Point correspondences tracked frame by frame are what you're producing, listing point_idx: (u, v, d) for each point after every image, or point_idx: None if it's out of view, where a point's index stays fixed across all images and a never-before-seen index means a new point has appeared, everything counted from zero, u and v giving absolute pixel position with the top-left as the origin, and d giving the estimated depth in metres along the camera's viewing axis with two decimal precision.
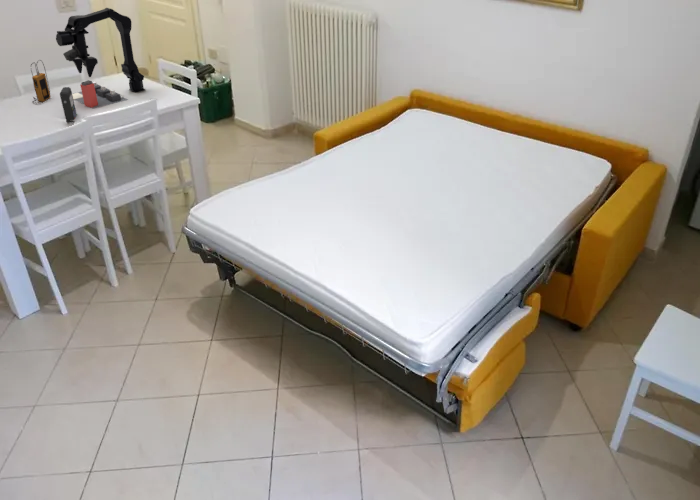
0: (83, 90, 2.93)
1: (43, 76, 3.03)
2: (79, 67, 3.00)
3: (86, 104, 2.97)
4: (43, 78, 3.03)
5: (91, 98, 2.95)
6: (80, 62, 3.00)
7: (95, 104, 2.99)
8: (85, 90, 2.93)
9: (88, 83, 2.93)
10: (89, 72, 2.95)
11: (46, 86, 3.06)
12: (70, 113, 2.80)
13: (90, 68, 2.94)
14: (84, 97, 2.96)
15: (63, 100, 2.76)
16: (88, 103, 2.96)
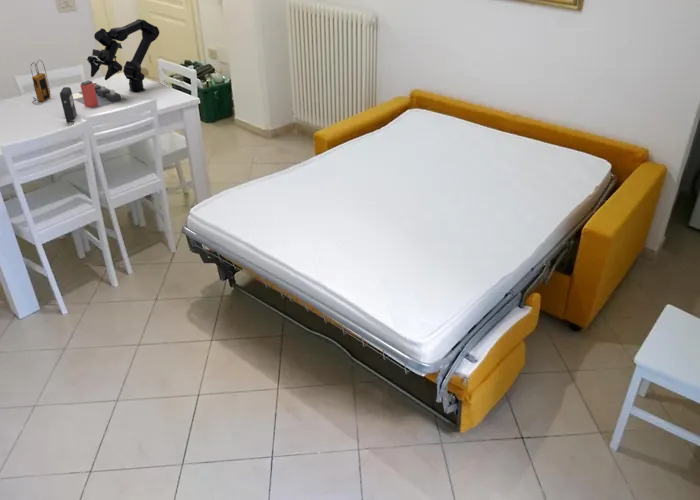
0: (83, 90, 2.93)
1: (43, 76, 3.03)
2: (93, 71, 3.01)
3: (86, 104, 2.97)
4: (43, 78, 3.03)
5: (91, 98, 2.95)
6: (96, 69, 3.02)
7: (95, 104, 2.99)
8: (85, 90, 2.93)
9: (88, 83, 2.93)
10: (108, 75, 2.97)
11: (46, 86, 3.06)
12: (70, 113, 2.80)
13: (111, 72, 2.98)
14: (84, 97, 2.96)
15: (63, 100, 2.76)
16: (88, 103, 2.96)
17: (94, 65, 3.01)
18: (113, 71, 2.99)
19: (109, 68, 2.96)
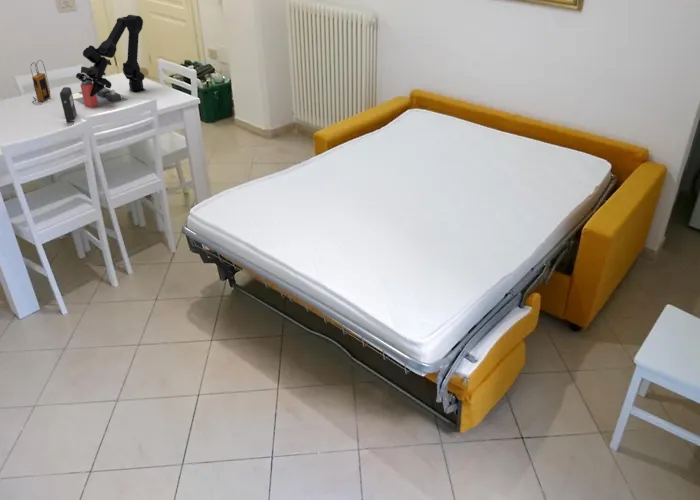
0: (83, 90, 2.93)
1: (43, 76, 3.03)
2: None
3: (86, 104, 2.97)
4: (43, 78, 3.03)
5: (91, 98, 2.95)
6: None
7: (95, 104, 2.99)
8: (85, 90, 2.93)
9: (88, 83, 2.93)
10: (93, 91, 2.94)
11: (46, 86, 3.06)
12: (70, 113, 2.80)
13: (96, 89, 2.95)
14: (84, 97, 2.96)
15: (63, 100, 2.76)
16: (88, 103, 2.96)
17: None
18: (99, 87, 2.96)
19: (95, 85, 2.93)
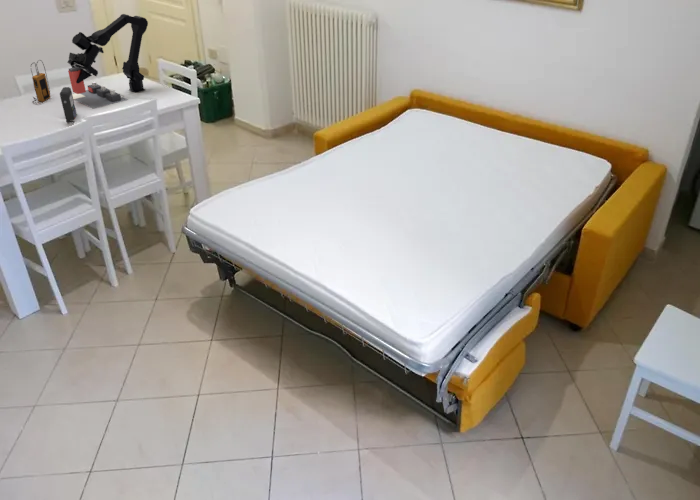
0: (70, 76, 2.94)
1: (43, 76, 3.03)
2: None
3: (73, 90, 2.98)
4: (43, 78, 3.03)
5: (78, 84, 2.95)
6: None
7: (82, 91, 2.99)
8: (71, 77, 2.93)
9: (75, 69, 2.93)
10: (80, 78, 2.94)
11: (46, 86, 3.06)
12: (70, 113, 2.80)
13: (83, 76, 2.95)
14: (72, 83, 2.96)
15: (63, 100, 2.76)
16: (75, 89, 2.97)
17: None
18: (86, 75, 2.95)
19: (81, 71, 2.93)
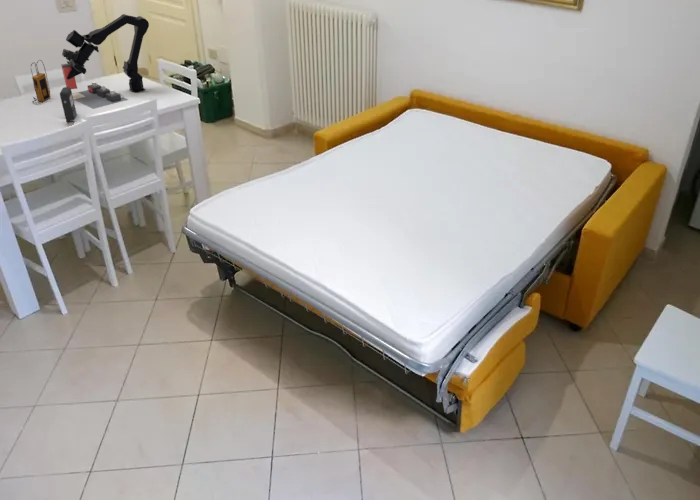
0: (63, 72, 3.01)
1: (43, 76, 3.03)
2: None
3: (66, 86, 3.05)
4: (43, 78, 3.03)
5: (68, 80, 3.02)
6: None
7: (73, 87, 3.05)
8: (63, 72, 3.00)
9: (66, 66, 2.99)
10: (70, 74, 3.00)
11: (46, 86, 3.06)
12: (70, 113, 2.80)
13: (73, 72, 3.00)
14: None
15: (63, 100, 2.76)
16: (66, 85, 3.04)
17: None
18: (76, 72, 3.00)
19: (71, 68, 2.98)
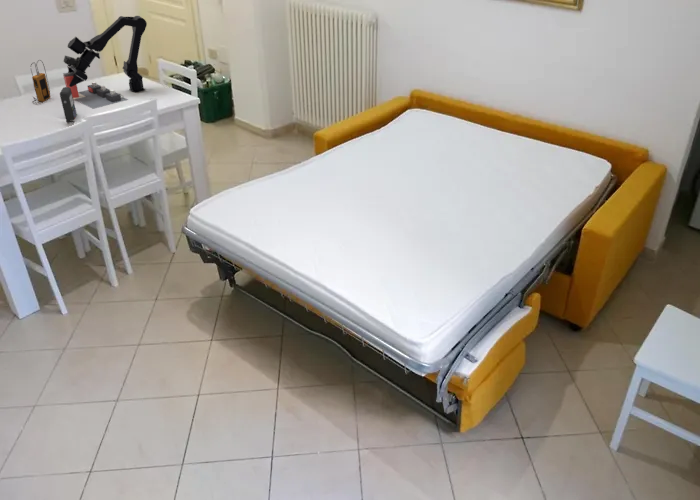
0: (65, 81, 3.04)
1: (43, 76, 3.03)
2: None
3: None
4: (43, 78, 3.03)
5: None
6: None
7: (75, 96, 3.07)
8: (65, 81, 3.03)
9: (68, 75, 3.02)
10: (72, 82, 3.00)
11: (46, 86, 3.06)
12: (70, 113, 2.80)
13: (76, 80, 3.00)
14: None
15: (63, 100, 2.76)
16: None
17: (71, 71, 3.07)
18: (79, 79, 3.01)
19: (73, 76, 2.99)
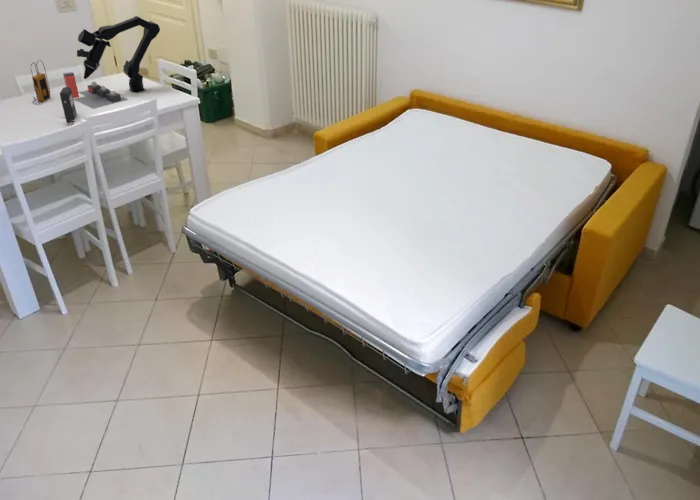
0: (65, 81, 3.04)
1: (43, 76, 3.03)
2: None
3: None
4: (43, 78, 3.03)
5: None
6: None
7: (75, 96, 3.07)
8: (65, 81, 3.03)
9: (68, 75, 3.02)
10: (85, 73, 3.01)
11: (46, 86, 3.06)
12: (70, 113, 2.80)
13: (88, 71, 3.00)
14: None
15: (63, 100, 2.76)
16: None
17: None
18: (91, 69, 3.00)
19: (85, 67, 2.99)
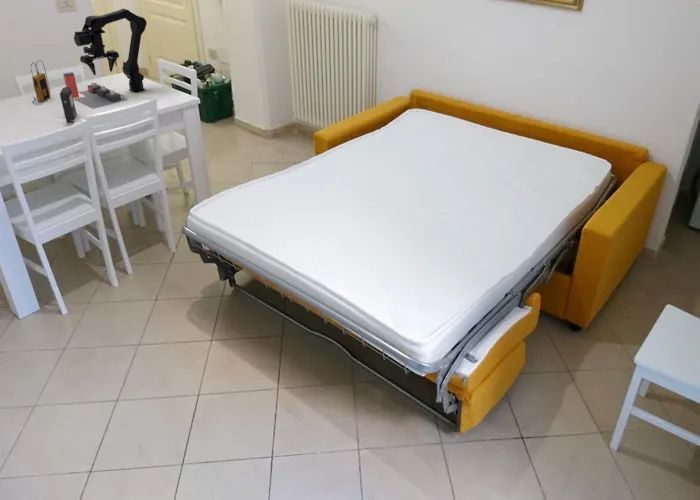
0: (65, 81, 3.04)
1: (43, 76, 3.03)
2: (110, 66, 3.08)
3: None
4: (43, 78, 3.03)
5: None
6: (110, 62, 3.07)
7: (75, 96, 3.07)
8: (65, 81, 3.03)
9: (68, 75, 3.02)
10: (91, 70, 3.02)
11: (46, 86, 3.06)
12: (70, 113, 2.80)
13: (91, 67, 3.00)
14: None
15: (63, 100, 2.76)
16: None
17: (108, 59, 3.07)
18: None
19: None
